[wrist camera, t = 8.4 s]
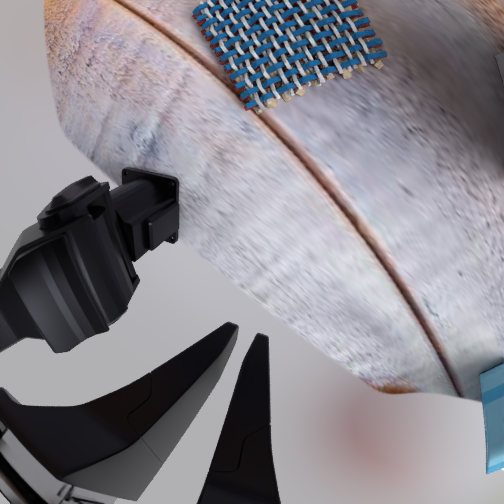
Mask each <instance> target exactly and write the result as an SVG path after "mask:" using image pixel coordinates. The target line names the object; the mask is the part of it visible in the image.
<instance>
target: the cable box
mask: <svg viewBox="0 0 504 504" xmlns="http://www.w3.org/2000/svg"><path fill="white" fill-rule="evenodd" d="M495 58H496V61H497V64H498V67H499V70H500V74H501V77H502V81H503V84H504V53H500V54H496V55H495Z"/></svg>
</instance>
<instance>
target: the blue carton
mask: <svg viewBox="0 0 504 504" xmlns="http://www.w3.org/2000/svg"><path fill="white" fill-rule="evenodd" d="M480 385H481V394H482V404H483V414H484V424H485V438H486V473H487V474H489V473H491V472H494V471H497V470H499V469H502V468H504V363H503V364H501V365H499V366H497V367H495V368H493V369H491V370H489V371H487V372H484V373H482V374H480Z"/></svg>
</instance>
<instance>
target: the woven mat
mask: <svg viewBox="0 0 504 504" xmlns="http://www.w3.org/2000/svg"><path fill="white" fill-rule="evenodd" d="M199 3H200V4H201V5H199V6H197V7H196V9H195V10H194V11H193V14H194V15H193V18H194V19H197V20H198V22H197V24H198V26H201V27H202V29H203V30H202V31H201V32H202V34H203V35H206V39H207V40H208V41H210V40H211V39H212V40H211V41H210V42H211V44H212V45H210V47H211V48H212V49H214V48H215V49H214V50H215V54H216V56H217V57H218V56H220V55H222V54H223V56H222V57H221V58H220V59H221V60H220V61H219V62H220V64H221V65H224V64H226V63H227V62H228V65H225V66H224V67H225V69H224V71H225V72H226V73H229V72H231V71H232V75H231V76H230V77H231V81H232V83H235V82H237V84H235V86H236V87H234V89H235V91H236V92H238V91H240V90H242V89H243V90H244V92H243V93H242V94H241V95H240V96H241V97H239V98H240V100H241V101H244V100H246V99H248V100H249V103H247V104H246V106H245V107H244V108H245V110H246V111H247V110H249V109H251V108H254V110H255V111H256V113H257V114H260V113H262V110H265V107H264V106H263V103H265V104H266V106H267V107H268V108H269V109H271V108H276V105H277V102H276V100H275V98H277V99H280V98H281V97H280V95H281V96H282V97H283V99H284V101H285V102H287V101H289V100H291V96H294V95H295V94H298V95H300V96H303V94H304V93H305V92H306V90H305V88H304V86H303V85H305V84H307V86H315V85H318V86H321V82H322V83H324V82H325V80H324V78H323V77H326V78H327V80H330V79H333V78H335V77H334V75H333V74H334V73H337V72H339V73H340V74H342V76H343V78H344V79H347V78H351V75H352V73H351V71H353V69H352V67H353V68H354V69H356V68H357V70H358V71H359V73H364V72H365V71H364V69H363V66H367V64H366V62H369V61H370V63H371V64H374V65H375V66H376V67H377V68H379V69H380V68H381V67H383V66H384V64H383V63H382V61H381V60H380V58H383V57H386V56H387V54H386V52H385V50H384V51H379V52H376V51H375V49H374V48H376V47H380V46H382V45H381V44H382V43H383V42H382V41H381V39H380V38H378V39H375V40H372V41H370V40H369V38H370V37H373V36H375V32H374V31H373V29H371V30H365V31H364V29H363V28H364V27H367V26H370V25H369V23H370V20H369V19H368V17H366V18H363V19H360V20H358V19H357V18H358V17H361V16H363V13H362V11H361V10H360V9H359V10H353V9H355V8H357V7H358V6H357V4H356V3H357V1H356V0H346V1H345V0H312V1H311V0H207V2H206V3H203V2H202V1H201V2H199ZM279 3H280V4H279ZM333 3H336V4H333ZM237 4H238V5H237ZM298 5H299V6H300V7H296V6H298ZM318 10H319V11H318ZM262 11H263V12H262ZM339 13H340V14H339ZM338 14H339V15H338ZM244 15H245V16H244ZM233 16H234V17H233ZM300 16H302V17H300ZM323 17H324V18H325V19H323ZM290 19H291V20H292V21H291V20H290ZM286 21H287V22H286ZM345 21H347V22H348V24H343V23H342V22H345ZM310 22H311V24H312V25H307V26H306V25H305V24H307V23H310ZM213 23H214V25H213ZM257 24H258V25H257ZM329 26H330V27H331V29H332V30H330V28H329ZM273 27H274V29H271V28H273ZM296 28H297V30H296ZM291 30H292V31H293V32H291ZM225 31H226V32H225ZM243 31H245V32H243ZM352 31H353V32H354V33H353V34H352V35H350V34H349V33H351V32H352ZM223 32H224V33H223ZM316 32H317V34H315V35H314V36H312V35H313V34H314V33H316ZM239 33H240V35H239ZM257 35H259V36H257ZM335 37H337V38H338V39H336V38H335ZM302 38H303V40H302ZM297 40H298V41H297ZM321 41H322V42H323V44H324V45H319V46H318V44H317V43H318V42H321ZM356 41H359V42H360V43H361V44H357V45H355V43H354V42H356ZM284 44H285V48H283V47H282V45H284ZM217 46H219V47H217ZM341 46H342V47H343V48H344V50H343V49H342V48H341ZM216 47H217V48H216ZM307 47H309V49H310V50H308V49H307ZM253 48H255V50H254V49H253ZM302 49H303V50H304V52H303V50H302ZM249 50H250V52H249ZM271 50H274V51H275V52H274V53H273V54H272V52H271ZM325 51H328V52H329V54H328V55H326V56H325V57H324V55H323V54H322V53H323V52H325ZM361 51H365V53H366V55H364V56H362V54H361V53H360V52H361ZM289 54H290V55H291V57H289V58H288V56H287V55H289ZM240 55H241V56H240ZM238 56H240V57H239V58H238ZM259 56H260V58H261V59H260V58H259ZM312 56H314V57H315V58H316V60H314V59H313V57H312ZM347 56H348V58H349V60H348V58H347ZM307 58H309V60H310V62H309V61H308V59H307ZM254 59H256V61H255V60H254ZM278 59H279V60H280V62H279V63H278V62H277V60H278ZM332 61H333V62H334V63H335V65H336V66H331V67H329V65H328V63H329V62H332ZM244 64H246V66H247V67H245V68H244V66H243V65H244ZM294 64H296V66H297V67H296V68H294V67H293V65H294ZM362 65H363V66H362ZM319 66H320V67H321V69H322V70H321V71H320V70H319V68H318V67H319ZM259 68H261V70H262V72H261V71H260V69H259ZM283 69H285V71H286V72H285V73H283V71H282V70H283ZM314 69H315V70H314ZM250 73H252V76H250V77H249V78H248V75H249V74H250ZM300 74H301V75H302V76H303V77H302V78H299V76H298V75H300ZM265 78H266V79H267V80H265ZM289 78H290V80H291V82H292V83H289V82H288V80H287V79H289ZM255 82H256V83H257V86H256V87H254V86H253V85H252V84H253V83H255ZM275 85H276V86H277V88H278V89H277V90H276V89H275ZM270 87H271V89H272V92H271V90H270ZM293 89H294V90H295V94H294V91H293ZM260 92H261V95H262V96H261V97H260V98H259V96H258V93H260ZM289 92H290V94H291V96H290V94H289Z"/></svg>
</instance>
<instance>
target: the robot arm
mask: <svg viewBox="0 0 504 504" xmlns="http://www.w3.org/2000/svg"><path fill="white" fill-rule="evenodd" d="M126 172H127V173H126ZM172 182H173V183H174V185H173V184H172ZM109 189H110V186H109V182H103V183H98V181H96V180H95V179H94V178H93V177H92V176H87V177H85V178H83V179H80V180H79V181H76V182H74V183H72V184H70V185H69V186H68V187H66V188H65V189H63V190H62V191H61V192H59V193H58V194H57V195H56V196H54V197H53V199H52V201H51V202H50V203H49V204H48V205H47V206H46V207H45V208H44V210H43V211H42V212H41V213H40V214H39V215H38V216H37V220H38V222H37V223H36V224H34V225H32V226H30V227H29V228H27V229H25V230H24V231H23V232H22V233H21V235H20V236H19V238H18V240H17V241H16V243H15V245H14V247H13V248H12V250H11V252H10V254H9V256H8V258H7V260H6V262H5V264H4V266H3V268H1V269H0V352H2V351H3V350H5V349H7V348H9V347H10V346H12V345H14V344H16V343H17V342H19V341H21V340H23V339H25V338H33V339H42V340H46V342H47V343H48V345H49V346H50V347H51V349H52V350H53V352H55V353H62V352H68V351H70V350H71V349H73V348H74V347H75V346H76V345H78V344H79V343H81V342H82V341H84V340H86V339H87V338H89V337H92V336H94V335H96V334H100V333H104V332H107V331H109V327H108V326H109V325H111V324H113V323H115V322H116V321H117V320H118V319H119V318H120V317H121V316H122V315H123V314H124V313H125V312H126V311H127V309H128V306H127V305H128V303H129V301H130V299H131V297H132V295H133V293H134V291H135V290H136V288H137V286H138V284H139V282H140V279H139V277H138V275H137V274H136V272H135V269H134V266H133V264H132V261H133V262H135V261H137V260H138V259H139V258H140V257H141V256H143V255H144V254H145V253H146V252H147V251H148V250H151V251H152V250H154V249H155V248H156V247H158V246H159V245H160V244H161V243H162V242H163V241H166V242H169V243H172V244H174V243H175V242H177V241H178V229H179V181H178V179H177V178H175V177H171V176H166V175H162V174H157V173H152V172H148V171H143V170H138V169H133V168H128V167H127V168H124V169H123V170H122V185H121V186H119V187H117V188H115V189H113V190H111V191H109ZM172 237H173V238H172ZM238 329H239V326H238V325H237V324H234V323H231V322H226V323H225V324H223V325H222V326H220V327H219V328H217V329H216V330H215V331H213V332H211V333H210V334H208V335H207V336H205V337H204V338H202V339H201V340H199V341H198V342H196V343H195V344H193V345H192V346H190V347H189V348H187V349H186V350H184V351H183V352H181V353H179V354H178V355H176V356H175V357H173V358H172V359H170V360H168V361H167V362H165V363H164V364H162V365H161V366H159V367H157V368H156V369H154V370H153V371H151V373H148V374H146V375H144V376H143V377H141V378H140V379H138V380H136V381H134V382H132V383H131V384H129V385H127V386H125V387H122V388H120V389H118V390H116V391H114V392H112V393H109V394H107V395H104V396H102V397H100V398H97V399H95V400H92V401H90V402H87V403H85V404H81V405H77V406H27V405H22V404H20V403H19V402H18V401H17V400H16V399H15V398H14V397H13V396H12V395H11V394H10V393H9V392H8V391H7V390H6V389H4V388H2V387H0V492H1V493H2V494H3V496H4V497H5V498H6V499H7V500H8V501H9V502H10V504H113V503H114V502H115V500H116V499H117V498H122V499H127V500H132V501H137V500H138V498H139V497H140V496H141V494H142V493H143V492H144V490H145V489H146V487H147V486H148V485H149V483H150V482H151V481H152V479H153V478H154V476H155V475H156V474H157V472H158V471H159V469H160V468H161V467H162V465H163V463H164V462H165V461H166V459H167V458H168V456H169V455H170V453H171V452H172V451H173V449H174V448H175V446H176V445H177V443H178V442H179V440H180V439H181V437H182V436H183V434H184V433H185V432H186V430H187V428H188V427H189V426H190V424H191V422H192V421H193V420H194V418H195V416H196V415H197V413H198V412H199V410H200V409H201V407H202V406H203V404H204V403H205V401H206V400H207V398H208V396H209V395H210V393H211V392H212V390H213V389H214V387H215V385H216V384H217V382H218V380H219V379H220V377H221V375H222V372H223V370H224V368H225V366H226V364H227V362H228V359H229V357H230V355H231V353H232V350H233V348H234V346H235V343H236V340H237V335H238ZM269 367H270V366H269V337H268V336H267V335H264V334H261V333H257V334H256V336H255V338H254V340H253V342H252V344H251V346H250V348H249V350H248V352H247V354H246V356H245V358H244V360H243V362H242V365H241V369H240V372H239V375H238V379H237V382H236V385H235V389H234V392H233V396H232V398H231V402H230V405H229V408H228V412H227V415H226V418H225V421H224V424H223V427H222V431H221V434H220V437H219V440H218V443H217V446H216V450H215V453H214V456H213V459H212V462H211V465H210V468H209V472H208V474H207V477H206V480H205V483H204V486H203V489H202V491H201V494H200V496H199V499H198V502H197V504H281V501H280V497H279V492H278V486H277V481H276V475H275V469H274V463H273V455H272V445H271V425H270V423H271V416H270V415H271V413H270V368H269Z"/></svg>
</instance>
